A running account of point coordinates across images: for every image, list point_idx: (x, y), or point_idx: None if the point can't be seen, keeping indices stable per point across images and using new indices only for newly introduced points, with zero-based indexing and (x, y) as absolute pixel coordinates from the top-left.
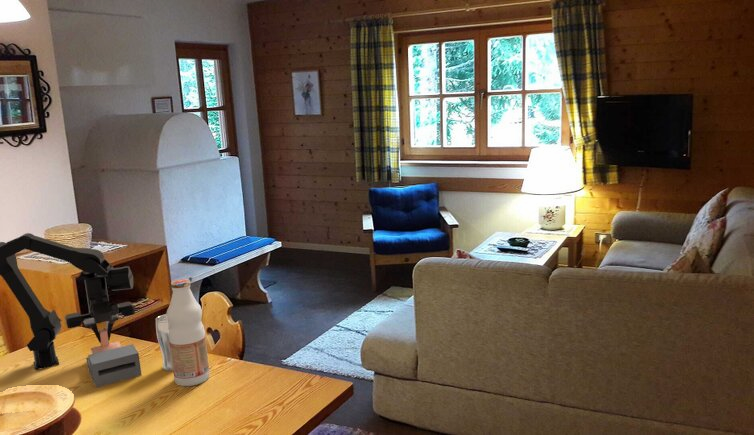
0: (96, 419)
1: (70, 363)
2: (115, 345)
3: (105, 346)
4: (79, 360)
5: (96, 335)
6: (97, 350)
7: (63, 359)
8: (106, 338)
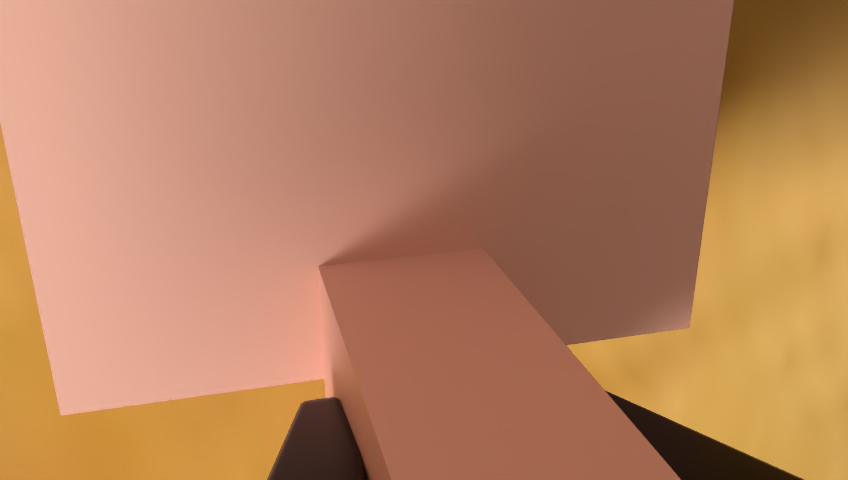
0: None
1: (826, 286)
2: (160, 160)
3: (410, 238)
4: (712, 329)
5: (741, 461)
6: (616, 79)
7: (840, 466)
8: (403, 365)
